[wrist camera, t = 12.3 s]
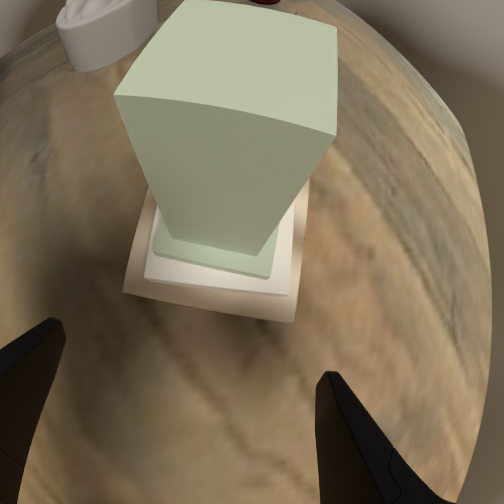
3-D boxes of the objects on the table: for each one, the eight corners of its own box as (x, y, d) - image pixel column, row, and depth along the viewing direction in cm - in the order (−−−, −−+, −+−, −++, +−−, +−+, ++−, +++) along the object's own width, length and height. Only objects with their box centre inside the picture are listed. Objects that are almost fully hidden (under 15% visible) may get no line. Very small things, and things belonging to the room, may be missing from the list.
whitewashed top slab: (281, 297, 20) (288, 294, 18) (150, 281, 19) (143, 277, 17) (289, 179, 22) (295, 167, 20) (173, 164, 21) (170, 150, 19)
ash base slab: (286, 323, 22) (293, 323, 20) (129, 294, 20) (121, 291, 19) (303, 180, 25) (310, 169, 23) (166, 155, 23) (163, 142, 22)
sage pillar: (266, 280, 18) (377, 189, 5) (155, 256, 17) (59, 126, 5) (283, 180, 20) (362, 25, 7) (185, 159, 19) (169, -12, 7)
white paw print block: (167, 16, 28) (165, -35, 19) (119, 73, 24) (103, 12, 16) (105, 17, 27) (95, -28, 19) (52, 73, 24) (30, 24, 15)
